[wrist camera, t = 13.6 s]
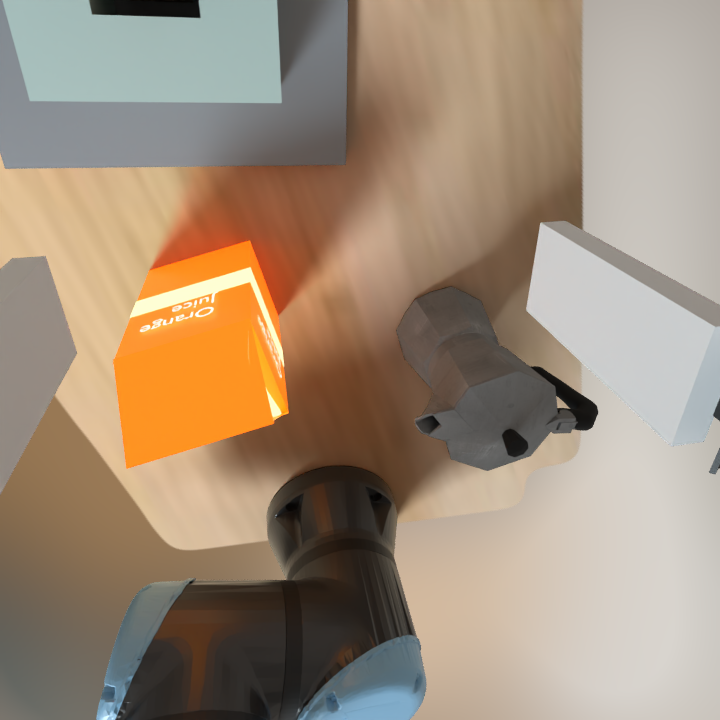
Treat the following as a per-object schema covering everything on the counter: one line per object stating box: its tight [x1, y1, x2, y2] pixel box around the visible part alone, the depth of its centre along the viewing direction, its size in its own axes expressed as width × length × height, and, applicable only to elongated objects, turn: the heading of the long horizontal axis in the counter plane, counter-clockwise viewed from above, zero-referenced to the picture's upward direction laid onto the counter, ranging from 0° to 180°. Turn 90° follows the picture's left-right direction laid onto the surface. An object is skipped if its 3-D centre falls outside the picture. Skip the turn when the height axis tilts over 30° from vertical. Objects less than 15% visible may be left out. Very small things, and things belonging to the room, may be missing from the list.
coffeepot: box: [396, 287, 598, 471], centre depth 45 cm, size 15×9×18 cm, turn 83°
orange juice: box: [113, 240, 289, 468], centre depth 38 cm, size 8×9×20 cm
